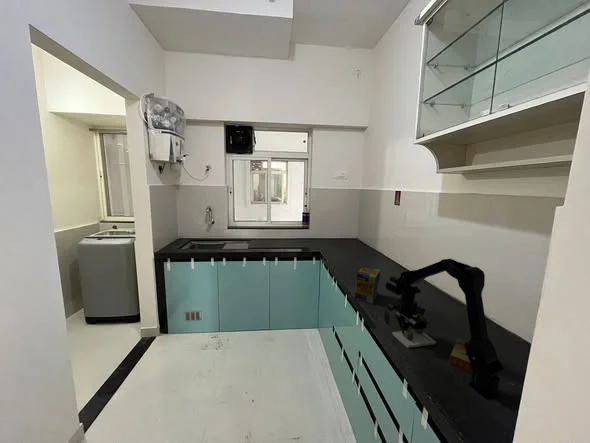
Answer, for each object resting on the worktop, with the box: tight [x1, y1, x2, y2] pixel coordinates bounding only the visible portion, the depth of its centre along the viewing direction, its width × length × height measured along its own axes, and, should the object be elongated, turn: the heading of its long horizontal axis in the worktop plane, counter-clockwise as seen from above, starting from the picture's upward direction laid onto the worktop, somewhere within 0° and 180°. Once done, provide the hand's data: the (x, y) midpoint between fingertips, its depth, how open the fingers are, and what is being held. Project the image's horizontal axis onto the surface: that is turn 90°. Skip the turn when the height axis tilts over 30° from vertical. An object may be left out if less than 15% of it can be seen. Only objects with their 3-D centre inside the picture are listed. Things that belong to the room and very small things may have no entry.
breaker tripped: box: [403, 329, 414, 339], centre depth 114 cm, size 3×3×2 cm
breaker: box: [412, 328, 425, 333], centre depth 119 cm, size 3×3×2 cm
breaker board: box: [392, 329, 437, 349], centre depth 115 cm, size 10×14×1 cm
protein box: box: [354, 266, 381, 305], centre depth 155 cm, size 10×15×16 cm
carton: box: [448, 337, 472, 374], centre depth 104 cm, size 8×16×4 cm, turn 141°
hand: (403, 333), depth 117 cm, fingers closed
